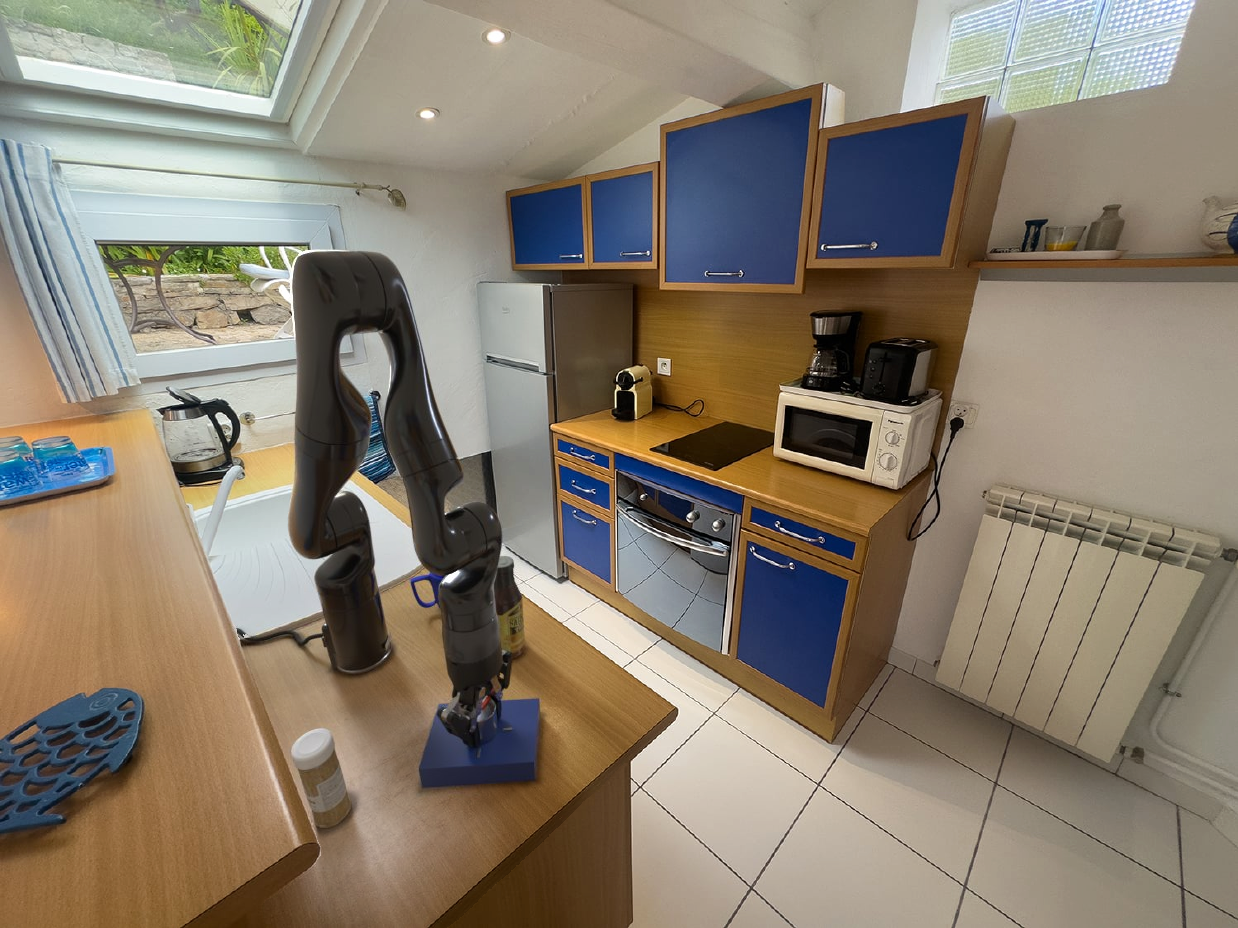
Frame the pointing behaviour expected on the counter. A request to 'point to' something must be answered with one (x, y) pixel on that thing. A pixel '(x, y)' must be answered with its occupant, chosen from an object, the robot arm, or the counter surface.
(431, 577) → the mug
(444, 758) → the blue knob base block
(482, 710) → the silver pointer knob
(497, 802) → the counter surface
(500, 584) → the sauce bottle
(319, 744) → the sprinkles bottle
